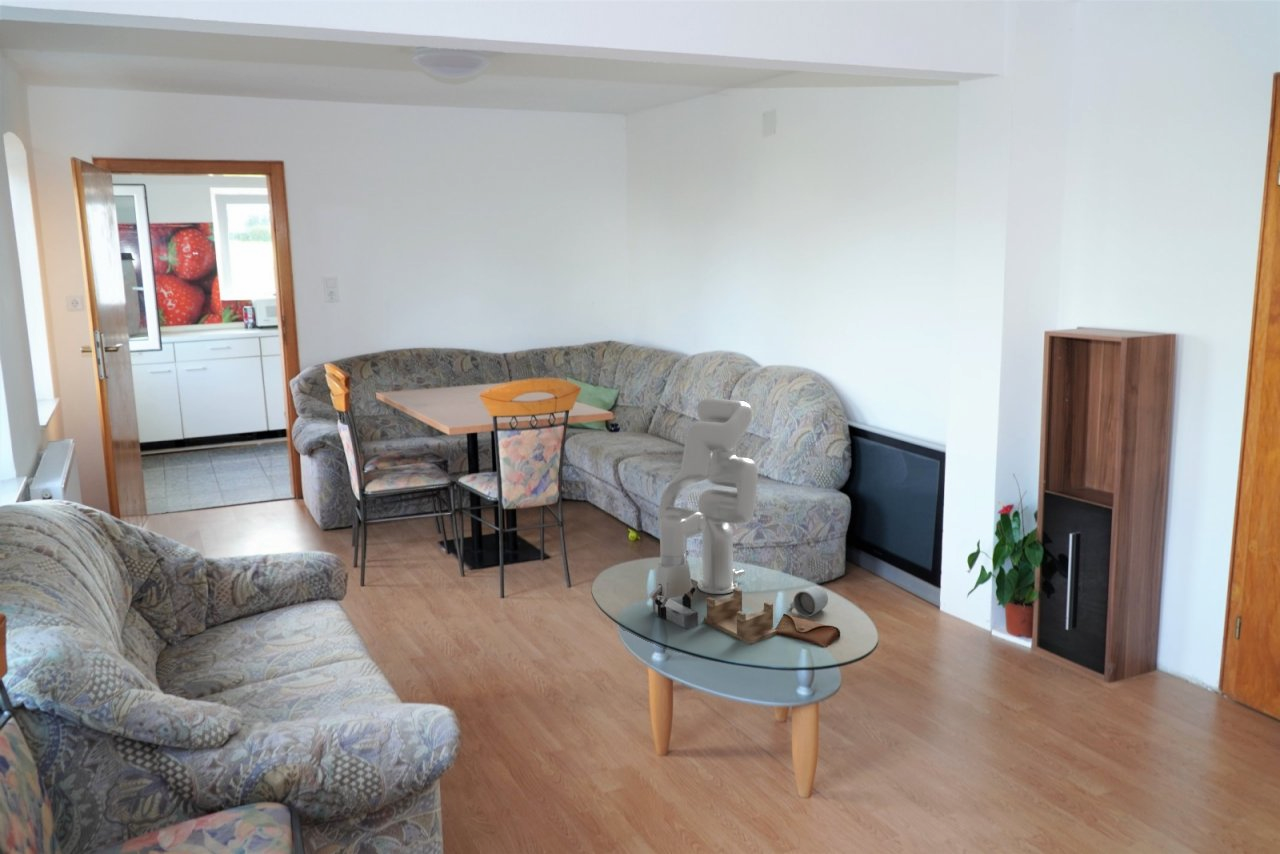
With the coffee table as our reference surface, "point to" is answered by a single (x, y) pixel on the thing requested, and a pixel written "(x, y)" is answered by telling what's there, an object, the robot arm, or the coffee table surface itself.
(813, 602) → the ceramic mug
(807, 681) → the coffee table surface
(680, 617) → the rail
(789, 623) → the sunglasses case
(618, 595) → the coffee table surface
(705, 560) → the robot arm
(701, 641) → the coffee table surface
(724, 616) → the rack
